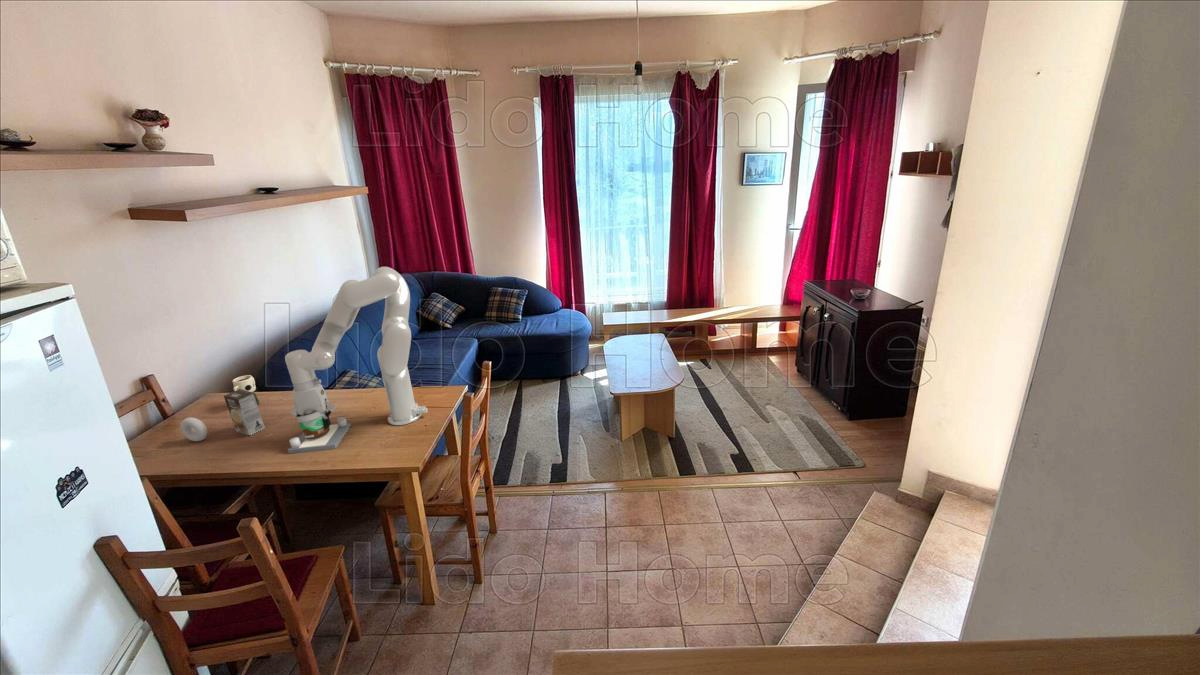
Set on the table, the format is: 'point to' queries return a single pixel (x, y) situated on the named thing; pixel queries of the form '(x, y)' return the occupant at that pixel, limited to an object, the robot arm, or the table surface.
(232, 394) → the coffee box
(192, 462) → the table surface
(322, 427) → the food container
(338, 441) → the board
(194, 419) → the donut
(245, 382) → the character mug
